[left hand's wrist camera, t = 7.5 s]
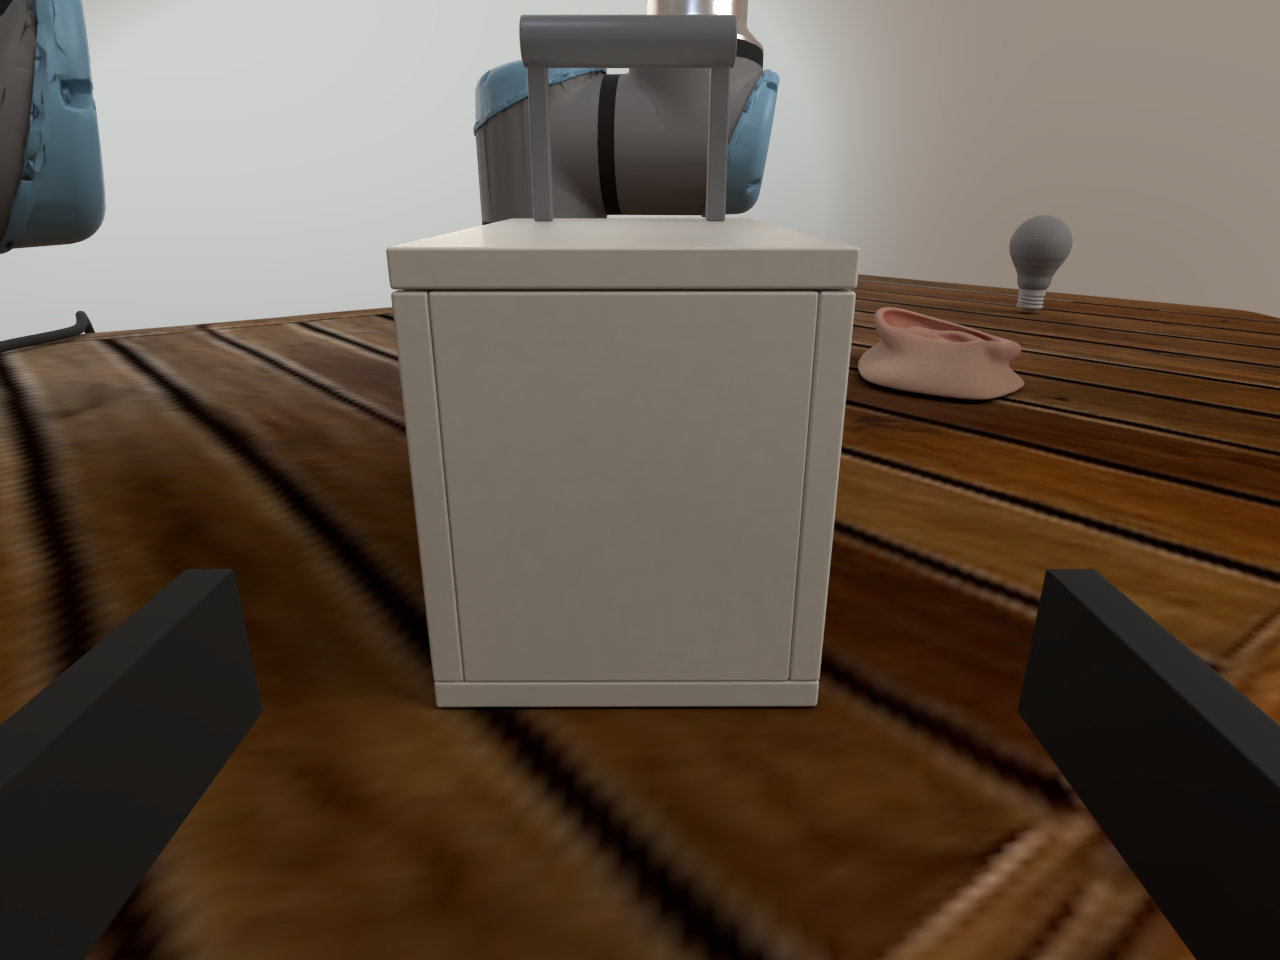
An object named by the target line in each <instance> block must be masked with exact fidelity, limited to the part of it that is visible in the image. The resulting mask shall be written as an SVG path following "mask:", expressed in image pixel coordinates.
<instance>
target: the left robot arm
mask: <svg viewBox="0 0 1280 960" xmlns="http://www.w3.org/2000/svg"><path fill="white" fill-rule="evenodd" d="M92 91H93V84H92V77H91V69H90V56H89V48H88V40H87V33H86V26H85V19H84V12H83V5H82V0H0V254H2V253H6V252H8V251H10V250H11V249H13V248H25V247H38V246H50V245H63V244H72V243H76V242H80V241H83V240H85V239H87V238H89V237H90V236H92V235H93V234H94V233H95V232H96V231H97V230H98V229H99V227H100V226H101V224H102V222H103V219H104V215H105V208H106V207H105V186H104V174H103V164H102V155H101V146H100V137H99V129H98V122H97V114H96V107H95V101H94V99H93V92H92ZM76 319H77V322H76V324H75V325H74V326H72V327H69V328H65V329H60V330H56V331H51V332H46V333H41V334H35V335H30V336H25V337H19V338H15V339H10V340H5V341H1V342H0V353H1V352H5V351H9V350H13V349H18V348H23V347H27V346H32V345H37V344H42V343H47V342H52V341H57V340H61V339H65V338H69V337H72V336H76V335H78V334H81V333H83V332H85V334H86V333H95V331H94V328H93V326H92V324H91V322H90V320H89V319H88V317H87V315H86V313H84V312H83V311H78V312H77V313H76ZM262 712H263V710H262V705H261V700H260V695H259V691H258V686H257V681H256V676H255V671H254V666H253V661H252V656H251V652H250V647H249V642H248V637H247V632H246V627H245V622H244V617H243V613H242V608H241V603H240V598H239V593H238V588H237V583H236V578H235V574H234V569H186V570H185V571H184V572H182V573H181V574H180V575H179V576H178V577H176V578H175V579H174V580H173V581H172V582H170V583H169V584H168V585H167V586H166V587H165V588H163V589H162V590H161V591H160V592H159V593H157V594H156V595H155V596H154V597H153V598H151V599H150V600H149V601H148V602H147V603H146V604H144V605H143V606H142V607H141V608H140V609H138V610H137V611H136V612H135V613H134V614H132V615H131V616H130V617H129V618H128V619H126V620H125V621H124V622H123V623H122V624H121V625H119V626H118V627H117V628H116V629H115V630H113V631H112V632H111V633H110V634H109V635H107V636H106V637H105V638H104V639H103V640H102V641H100V642H99V643H98V644H97V645H96V646H94V647H93V648H92V649H91V650H90V651H88V652H87V653H86V654H85V655H84V656H82V657H81V658H80V659H79V660H78V661H77V662H75V663H74V664H73V665H72V666H71V667H69V668H68V669H67V670H66V671H65V672H63V673H62V674H61V675H60V676H59V677H58V678H56V679H55V680H54V681H53V682H52V683H50V684H49V685H48V686H47V687H46V688H44V689H43V690H42V691H41V692H40V693H39V694H37V695H36V696H35V697H34V698H33V699H31V700H30V701H29V702H28V703H27V704H25V705H24V706H23V707H22V708H21V709H19V710H18V711H17V712H16V713H15V714H14V715H12V716H11V717H10V718H9V719H8V720H6V721H5V722H4V723H3V724H2V725H0V960H84V959H85V957H86V956H87V955H88V953H89V952H90V950H91V949H92V948H93V946H94V945H95V943H96V942H97V941H98V939H99V938H100V936H101V935H102V934H103V932H104V931H105V930H106V928H107V927H108V925H109V924H110V923H111V921H112V920H113V918H114V917H115V916H116V914H117V913H118V911H119V910H120V909H121V907H122V906H123V905H124V903H125V902H126V900H127V899H128V898H129V896H130V895H131V893H132V892H133V891H134V889H135V888H136V886H137V885H138V884H139V882H140V881H141V880H142V878H143V877H144V875H145V874H146V873H147V871H148V870H149V868H150V867H151V866H152V864H153V863H154V862H155V860H156V859H157V857H158V856H159V855H160V853H161V852H162V850H163V849H164V848H165V846H166V845H167V843H168V842H169V841H170V839H171V838H172V837H173V835H174V834H175V832H176V831H177V830H178V828H179V827H180V825H181V824H182V823H183V821H184V820H185V818H186V817H187V816H188V814H189V813H190V812H191V810H192V809H193V807H194V806H195V805H196V803H197V802H198V800H199V799H200V798H201V796H202V795H203V793H204V792H205V791H206V789H207V788H208V787H209V785H210V784H211V782H212V781H213V780H214V778H215V777H216V775H217V774H218V773H219V771H220V770H221V769H222V767H223V766H224V764H225V763H226V762H227V760H228V759H229V757H230V756H231V755H232V753H233V752H234V750H235V749H236V748H237V746H238V745H239V744H240V742H241V741H242V739H243V738H244V737H245V735H246V734H247V732H248V731H249V730H250V728H251V727H252V725H253V724H254V723H255V721H256V720H257V719H258V717H259V716H260V714H261V713H262ZM1017 712H1018V713H1019V714H1020V716H1021V717H1022V719H1023V720H1024V721H1025V723H1026V724H1027V725H1028V727H1029V728H1030V730H1031V731H1032V732H1033V734H1034V735H1035V737H1036V738H1037V739H1038V741H1039V742H1040V744H1041V745H1042V746H1043V748H1044V749H1045V750H1046V752H1047V753H1048V755H1049V756H1050V757H1051V759H1052V760H1053V762H1054V763H1055V764H1056V766H1057V767H1058V769H1059V770H1060V771H1061V773H1062V774H1063V775H1064V777H1065V778H1066V780H1067V781H1068V782H1069V784H1070V785H1071V787H1072V788H1073V789H1074V791H1075V792H1076V793H1077V795H1078V796H1079V798H1080V799H1081V800H1082V802H1083V803H1084V805H1085V806H1086V807H1087V809H1088V810H1089V812H1090V813H1091V814H1092V816H1093V817H1094V818H1095V820H1096V821H1097V823H1098V824H1099V825H1100V827H1101V828H1102V830H1103V831H1104V832H1105V834H1106V835H1107V837H1108V838H1109V839H1110V841H1111V842H1112V843H1113V845H1114V846H1115V848H1116V849H1117V850H1118V852H1119V853H1120V855H1121V856H1122V857H1123V859H1124V860H1125V862H1126V863H1127V864H1128V866H1129V867H1130V868H1131V870H1132V871H1133V873H1134V874H1135V875H1136V877H1137V878H1138V880H1139V881H1140V882H1141V884H1142V885H1143V886H1144V888H1145V889H1146V891H1147V892H1148V893H1149V895H1150V896H1151V898H1152V899H1153V900H1154V902H1155V903H1156V905H1157V906H1158V907H1159V909H1160V910H1161V911H1162V913H1163V914H1164V916H1165V917H1166V918H1167V920H1168V921H1169V923H1170V924H1171V925H1172V927H1173V928H1174V930H1175V931H1176V932H1177V934H1178V935H1179V936H1180V938H1181V939H1182V941H1183V942H1184V943H1185V945H1186V946H1187V948H1188V949H1189V950H1190V952H1191V953H1192V955H1193V956H1194V957H1195V959H1196V960H1280V725H1278V724H1277V723H1276V722H1275V721H1274V720H1272V719H1271V718H1270V717H1269V716H1268V715H1266V714H1265V713H1264V712H1263V711H1262V710H1261V709H1259V708H1258V707H1257V706H1256V705H1255V704H1253V703H1252V702H1251V701H1250V700H1249V699H1247V698H1246V697H1245V696H1244V695H1243V694H1241V693H1240V692H1239V691H1238V690H1237V689H1236V688H1234V687H1233V686H1232V685H1231V684H1230V683H1228V682H1227V681H1226V680H1225V679H1224V678H1222V677H1221V676H1220V675H1219V674H1218V673H1217V672H1215V671H1214V670H1213V669H1212V668H1211V667H1209V666H1208V665H1207V664H1206V663H1205V662H1203V661H1202V660H1201V659H1200V658H1199V657H1197V656H1196V655H1195V654H1194V653H1193V652H1192V651H1190V650H1189V649H1188V648H1187V647H1186V646H1184V645H1183V644H1182V643H1181V642H1180V641H1178V640H1177V639H1176V638H1175V637H1174V636H1173V635H1171V634H1170V633H1169V632H1168V631H1167V630H1165V629H1164V628H1163V627H1162V626H1161V625H1159V624H1158V623H1157V622H1156V621H1155V620H1154V619H1152V618H1151V617H1150V616H1149V615H1148V614H1146V613H1145V612H1144V611H1143V610H1142V609H1140V608H1139V607H1138V606H1137V605H1136V604H1134V603H1133V602H1132V601H1131V600H1130V599H1129V598H1127V597H1126V596H1125V595H1124V594H1123V593H1121V592H1120V591H1119V590H1118V589H1117V588H1115V587H1114V586H1113V585H1112V584H1111V583H1110V582H1108V581H1107V580H1106V579H1105V578H1104V577H1102V576H1101V575H1100V574H1099V573H1098V572H1096V571H1095V570H1094V569H1046V574H1045V578H1044V583H1043V588H1042V593H1041V598H1040V603H1039V608H1038V613H1037V617H1036V622H1035V627H1034V632H1033V637H1032V642H1031V647H1030V652H1029V656H1028V661H1027V666H1026V671H1025V676H1024V681H1023V686H1022V690H1021V695H1020V700H1019V705H1018V710H1017Z"/></svg>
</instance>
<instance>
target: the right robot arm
mask: <svg viewBox="0 0 1280 960" xmlns="http://www.w3.org/2000/svg"><path fill="white" fill-rule="evenodd" d="M747 6H748V0H648V2H647V15H736V18H737V51H736V59H735V64H734V67H732V68H730V95H729V122H728V150H727V178H726V206H725V214H739V213H744V212H746V211H748V210H749V209H750V208H752V207H753V205H754V204H755V203H756V201H757V199H758V196H759V193H760V188H761V183H762V178H763V173H764V168H765V162H766V157H767V151H768V146H769V140H770V134H771V128H772V123H773V117H774V110H775V104H776V97H777V90H778V84H779V76H778V74H777V73H775V72H772V71H771V70H770V69H769V70H764V71H763V47H762V45H761V44H760V43H759V41H758V40H757V39H756V38H755V37H754V36H753V35H752V34H751V33H750V32H749V30H748V28H747ZM605 74H607V68H548V79H549V106H550V133H551V160H552V187H553V214H554V218H607V215H702V217H706V184H707V148H708V112H709V76H710V68H629V73H627V74H611V75H605ZM475 118H476V124H475V126H474V135H475V136H476V145H477V158H478V172H479V185H480V199H481V213H482V225H486V224H490V223H495V222H499V221H503V220H507V219H512V218H534V209H533V187H532V165H531V143H530V121H529V99H528V77H527V68H525V67H524V65H523V62H522V60H518V61H514V62H510V63H507V64H504V65H500V66H498V67H495V68H493V69H491V70H489V71H488V72H486V73H485V74H484V75H483V76H482V77H481V78H480V79H479V81H478V83H477V85H476V89H475Z"/></svg>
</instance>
